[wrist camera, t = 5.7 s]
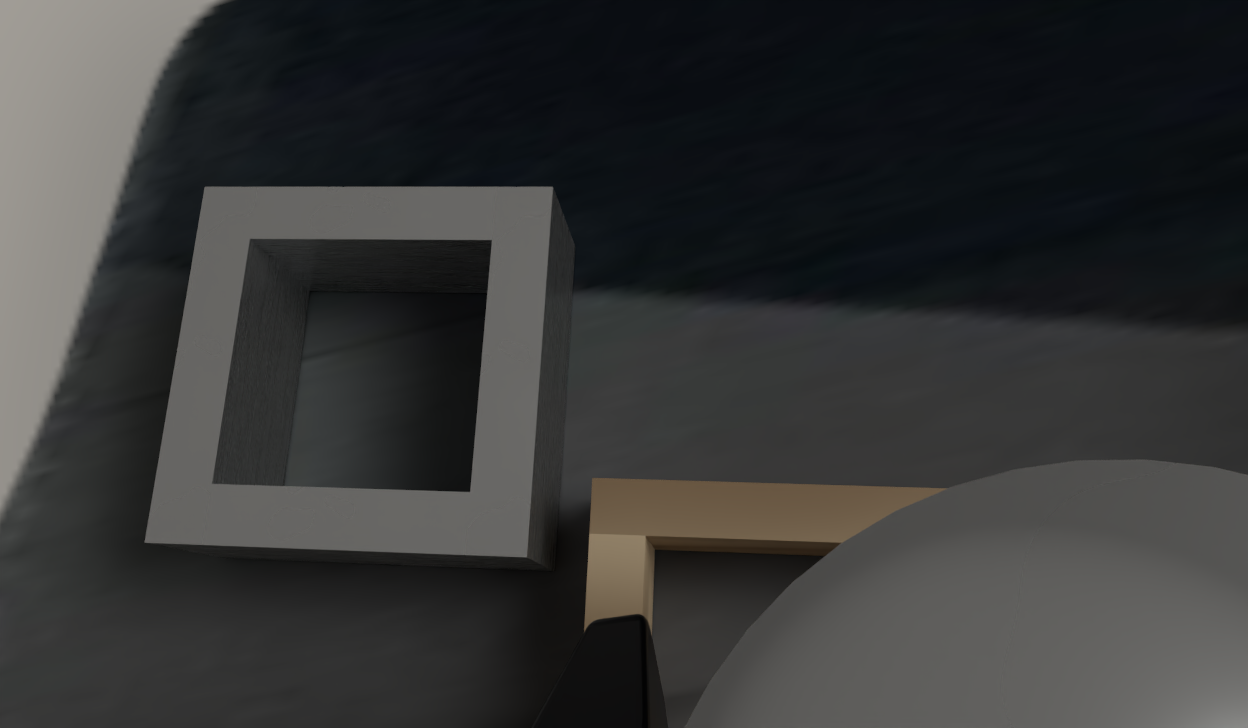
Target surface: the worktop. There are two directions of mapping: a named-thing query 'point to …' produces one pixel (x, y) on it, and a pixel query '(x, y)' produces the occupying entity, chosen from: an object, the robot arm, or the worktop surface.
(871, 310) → the worktop surface
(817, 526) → the wooden box
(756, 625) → the tin canister
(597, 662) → the robot arm
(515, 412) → the socket block
